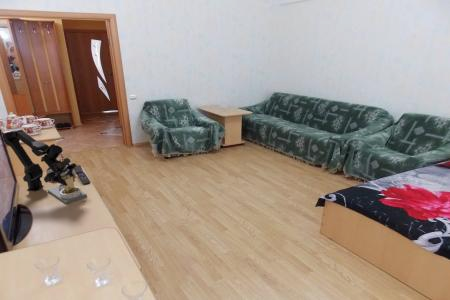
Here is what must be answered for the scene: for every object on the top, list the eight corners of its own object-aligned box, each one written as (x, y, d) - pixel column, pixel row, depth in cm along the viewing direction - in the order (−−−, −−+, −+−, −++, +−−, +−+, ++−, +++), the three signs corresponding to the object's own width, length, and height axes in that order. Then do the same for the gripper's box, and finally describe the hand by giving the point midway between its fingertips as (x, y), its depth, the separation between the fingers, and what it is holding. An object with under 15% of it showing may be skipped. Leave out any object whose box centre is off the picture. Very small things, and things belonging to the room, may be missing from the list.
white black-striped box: (73, 171, 201) (72, 160, 195) (74, 175, 198) (74, 164, 192) (45, 176, 191) (44, 165, 185) (47, 181, 188) (45, 170, 182)
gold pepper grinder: (63, 196, 162) (59, 178, 158) (64, 191, 167) (61, 173, 164) (76, 195, 164) (73, 177, 160) (77, 189, 170) (74, 172, 166)
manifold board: (47, 191, 171) (46, 185, 169) (68, 185, 180) (66, 178, 179) (66, 204, 158) (64, 196, 157) (86, 196, 167) (85, 189, 166)
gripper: (44, 160, 151) (63, 182, 151) (72, 150, 167) (89, 170, 168) (35, 171, 156) (54, 193, 156) (63, 160, 172) (80, 179, 173)
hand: (70, 183), depth 163 cm, fingers closed on gold pepper grinder, 5 cm apart
